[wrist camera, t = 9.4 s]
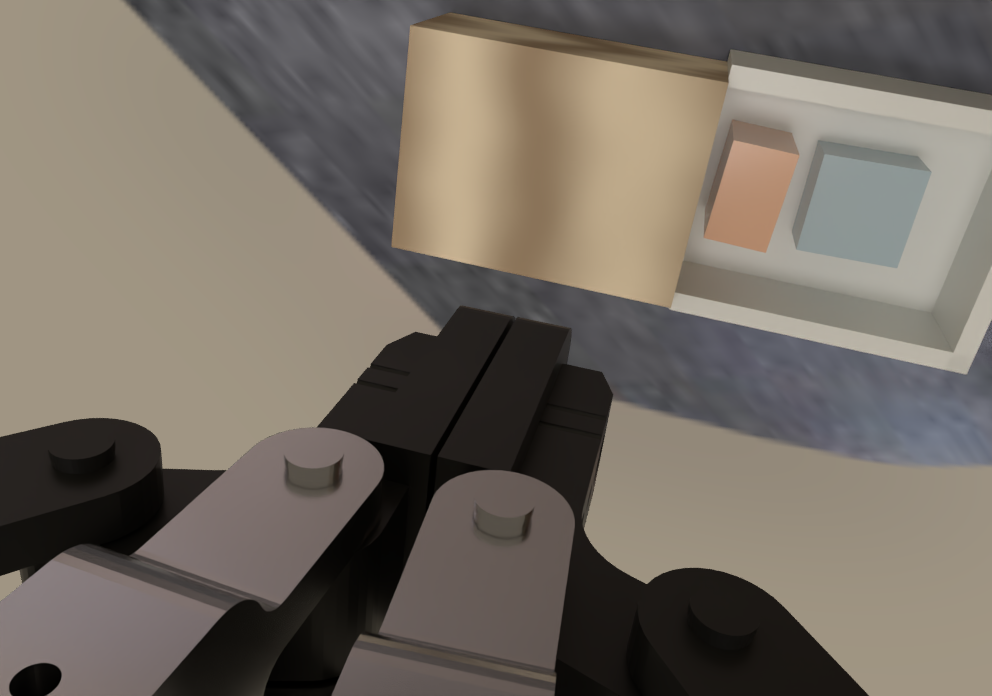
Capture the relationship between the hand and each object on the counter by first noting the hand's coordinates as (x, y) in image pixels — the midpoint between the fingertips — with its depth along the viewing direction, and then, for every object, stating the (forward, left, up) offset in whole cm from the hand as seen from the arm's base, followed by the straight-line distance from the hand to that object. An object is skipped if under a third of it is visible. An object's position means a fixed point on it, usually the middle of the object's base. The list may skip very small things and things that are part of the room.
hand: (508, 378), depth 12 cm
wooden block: (+3, +4, -28) cm, 29 cm away
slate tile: (-9, +3, -25) cm, 27 cm away
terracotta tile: (-4, +3, -26) cm, 26 cm away
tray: (-9, +4, -28) cm, 30 cm away
